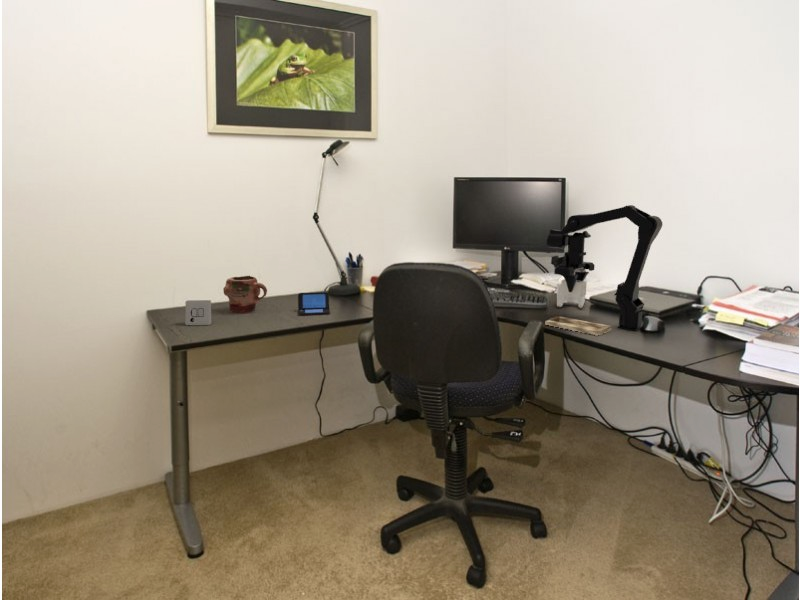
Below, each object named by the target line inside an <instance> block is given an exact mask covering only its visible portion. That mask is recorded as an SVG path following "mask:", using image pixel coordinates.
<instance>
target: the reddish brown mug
mask: <svg viewBox="0 0 800 600" xmlns="http://www.w3.org/2000/svg"><path fill="white" fill-rule="evenodd" d="M222 289H223V294H224V296H226V297H227V298H228V300H229V303H228V306H229V311H230V312H231V313H235V314H248V313H251V312H254V311H255V309H256V304H257V303H259V302H260V301H262V300H263V299H264V298H266V296H267V294H268V293H267V292H268V289H267V287H266V285H265V284H264V283H261V282H258V279H257V278H256V276H251V275H244V276H243V275H242V276H233V277H230V278H227V279H226V281H225V286H224V287H223V288H222ZM261 289H262V292H263V294H262V296H260V295H261ZM259 296H260V297H259Z"/></svg>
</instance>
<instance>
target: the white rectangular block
mask: <svg viewBox="0 0 800 600" xmlns="http://www.w3.org/2000/svg"><path fill="white" fill-rule="evenodd" d="M587 282H588V281H587V280H586V281H579V280H576V282H575V285H574V288H573V291H572V292H569V291H568V287H567V283H566V280H565V279H564V280H561V294H568V295H574V296H584V295H585V296H586V295H587Z"/></svg>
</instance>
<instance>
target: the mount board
mask: <svg viewBox="0 0 800 600" xmlns="http://www.w3.org/2000/svg"><path fill="white" fill-rule="evenodd" d="M544 323H545V325H549V326H548V327H550V326H554V327H553V328H555V327H559V328H558V329H560V328H563V329H562V330H565V329H568V330H567V331H570V330H572V331H571V332H575V331H578V332H577V333H580V332H582V333H581V334H584V333H587V334H586V335H589V334H591V335H590V336H594V335H595V337H599V336H601V335H604V334H606V333H608V332H611V331H612V327H613V326H612V325H609V324H602V323H598V322H591V321H586V320H580V319H575V318H570V317H565V316H554V317H551V318H549V319H547V320H545V322H544ZM603 333H604V334H603ZM598 335H599V336H598Z"/></svg>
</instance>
